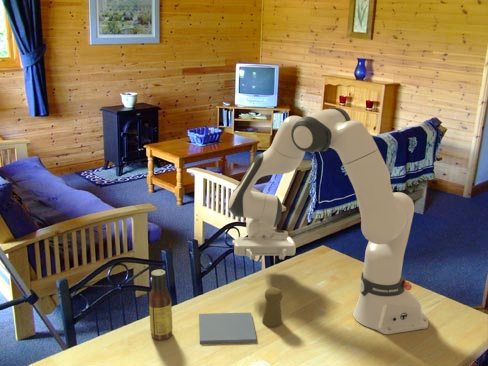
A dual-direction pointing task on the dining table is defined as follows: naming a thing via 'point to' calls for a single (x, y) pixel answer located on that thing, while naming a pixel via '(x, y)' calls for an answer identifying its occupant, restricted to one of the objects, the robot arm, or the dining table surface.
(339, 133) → the robot arm
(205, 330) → the tile
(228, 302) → the dining table surface
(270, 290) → the cork
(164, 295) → the sauce bottle
